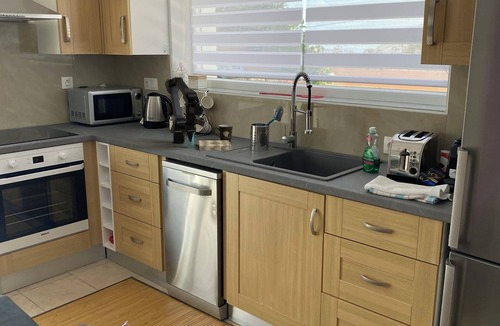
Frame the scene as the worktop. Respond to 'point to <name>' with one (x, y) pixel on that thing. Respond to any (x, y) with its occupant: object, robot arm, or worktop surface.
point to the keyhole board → (214, 145)
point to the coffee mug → (225, 132)
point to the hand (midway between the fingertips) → (190, 140)
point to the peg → (191, 144)
